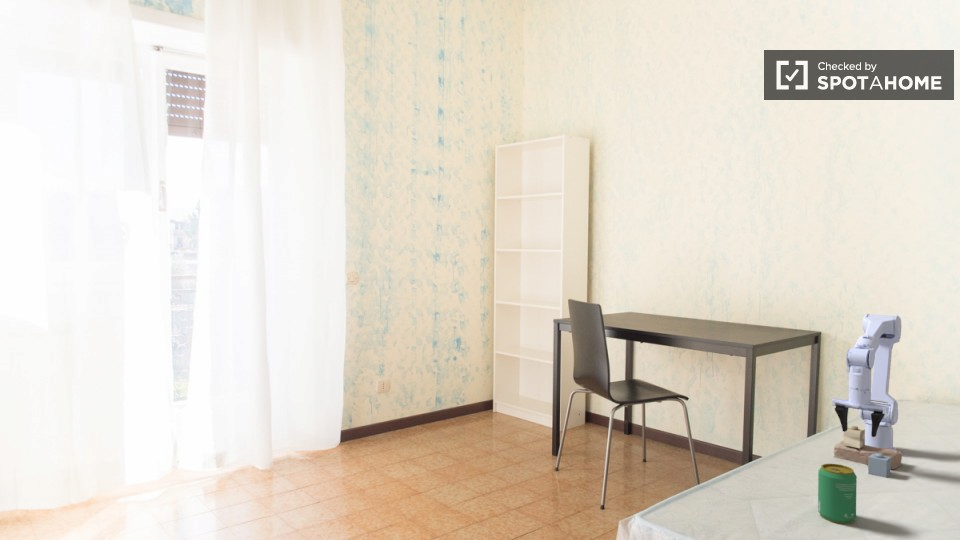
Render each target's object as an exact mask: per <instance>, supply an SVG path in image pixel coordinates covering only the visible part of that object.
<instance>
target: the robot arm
mask: <svg viewBox="0 0 960 540" xmlns="http://www.w3.org/2000/svg"><path fill="white" fill-rule="evenodd" d="M862 329H863V331H864V334H862V335H860V336H859V337H858V338H857V340H856V343H855V344H854V346H853V347H851V348H848V349H847V351H846V356H845V361H846V366H847V367H846V368H847V370H846V371H847V373H848V399H842V398H832V399H831V406H833V407H834V411H835V413H836V415H837V416H838V419H839V422H840V425H841V430H842V432H843V433H844V432H845V431H847V428H848V427H849V426H848V415H849V409H853V410H854V409H855V410H859V411H858V413H859V418H860V419H861V420H862V421H863V423H864V425H865V426H864V429H865V445H868V446H872V447H876V448H886V449H891V450H896V451H898V450H897V448H896V447H894V428H893V426H894V425H896V424H897V422H898V420H899V409H898V407H899V404H898V401H897V400H896V399H895V398H894V397H892V396H891V395H890V394H889V388H890V379H891V378H890V377H891V376H890V375H891V366H892V354H893V347H894V345H895V344H896V343H899V342H900V341H901V338H902V337H901V335H902V319H901V317H900V316H899V315H886V314H885V315H883V314H869V313H866V314H865V315H864V316H863V319H862ZM872 369H873V370H872Z"/></svg>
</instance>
